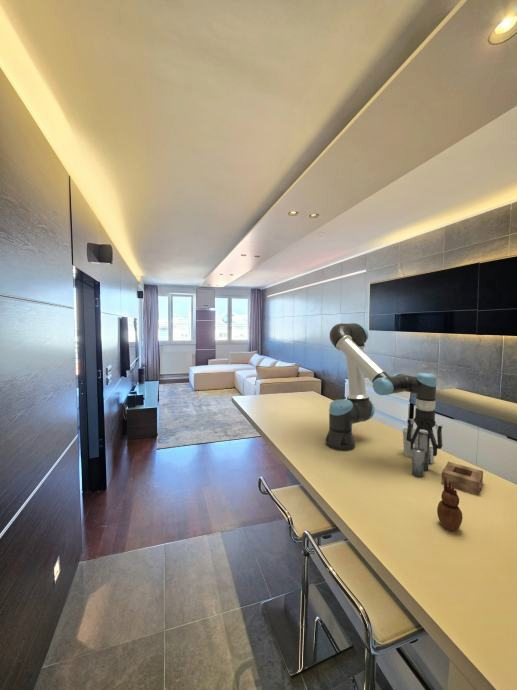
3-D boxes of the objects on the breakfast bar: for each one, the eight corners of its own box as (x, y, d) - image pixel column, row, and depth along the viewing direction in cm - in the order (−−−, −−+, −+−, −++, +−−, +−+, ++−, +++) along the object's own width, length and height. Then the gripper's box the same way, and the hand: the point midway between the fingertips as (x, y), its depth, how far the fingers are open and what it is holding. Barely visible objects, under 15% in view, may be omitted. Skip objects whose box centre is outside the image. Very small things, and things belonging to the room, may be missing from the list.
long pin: (415, 468, 131) (417, 433, 130) (418, 464, 134) (420, 430, 133) (426, 471, 128) (428, 435, 127) (429, 468, 131) (431, 433, 130)
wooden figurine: (433, 519, 97) (435, 475, 96) (449, 518, 97) (451, 474, 96) (447, 534, 90) (450, 487, 89) (465, 533, 90) (468, 486, 89)
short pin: (420, 462, 137) (421, 447, 136) (423, 459, 140) (424, 444, 139) (431, 465, 134) (432, 450, 133) (434, 462, 137) (434, 447, 136)
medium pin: (410, 475, 125) (411, 450, 124) (413, 471, 128) (414, 446, 128) (421, 478, 122) (422, 453, 121) (424, 474, 125) (425, 449, 125)
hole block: (441, 483, 118) (441, 471, 118) (447, 472, 127) (448, 461, 127) (478, 495, 110) (479, 482, 110) (482, 483, 119) (483, 471, 119)
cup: (422, 458, 140) (423, 434, 139) (404, 457, 142) (405, 433, 141) (416, 451, 148) (417, 428, 147) (399, 450, 150) (400, 427, 149)
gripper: (399, 406, 133) (397, 455, 135) (449, 415, 120) (446, 470, 121) (404, 403, 138) (402, 450, 140) (453, 411, 125) (450, 463, 127)
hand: (423, 459), depth 131 cm, fingers open, 6 cm apart
